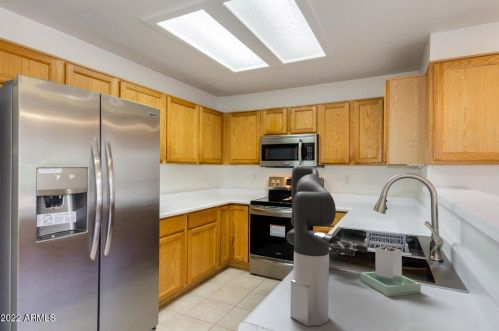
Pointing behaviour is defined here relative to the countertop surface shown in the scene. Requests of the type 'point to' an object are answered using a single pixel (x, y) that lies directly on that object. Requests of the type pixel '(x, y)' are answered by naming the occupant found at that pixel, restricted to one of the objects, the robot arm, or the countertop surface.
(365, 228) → the countertop surface
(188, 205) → the countertop surface
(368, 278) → the bin
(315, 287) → the robot arm
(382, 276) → the canister
